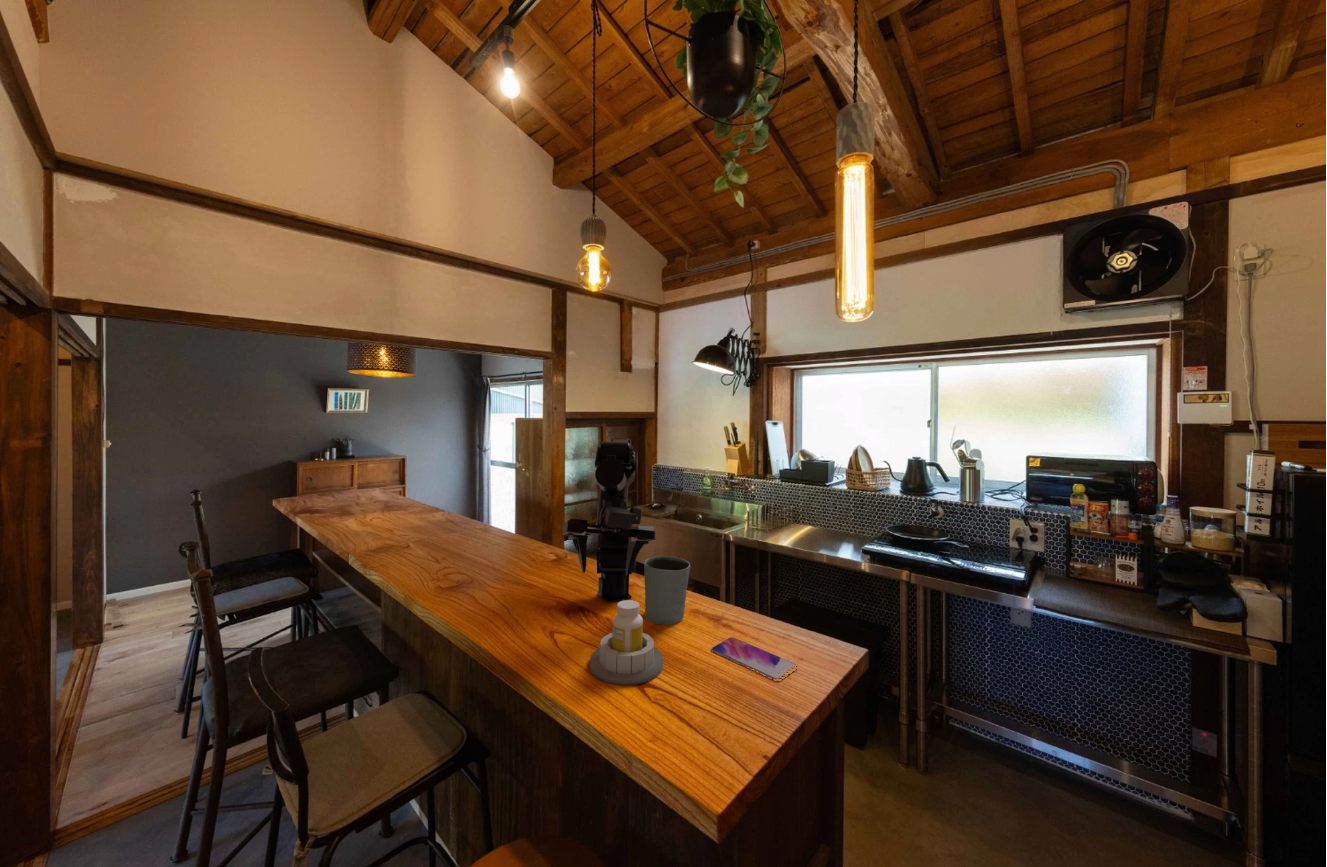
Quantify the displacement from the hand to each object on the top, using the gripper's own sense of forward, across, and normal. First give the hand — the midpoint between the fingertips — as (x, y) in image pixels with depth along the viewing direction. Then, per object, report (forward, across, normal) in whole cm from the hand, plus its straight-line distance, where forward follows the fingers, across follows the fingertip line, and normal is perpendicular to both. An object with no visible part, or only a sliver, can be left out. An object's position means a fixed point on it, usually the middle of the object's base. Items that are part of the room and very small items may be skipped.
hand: (605, 574), depth 98 cm
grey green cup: (+8, +16, +6) cm, 19 cm away
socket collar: (+16, +3, -9) cm, 18 cm away
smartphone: (+14, +26, -14) cm, 33 cm away
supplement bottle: (+15, +3, -9) cm, 17 cm away
